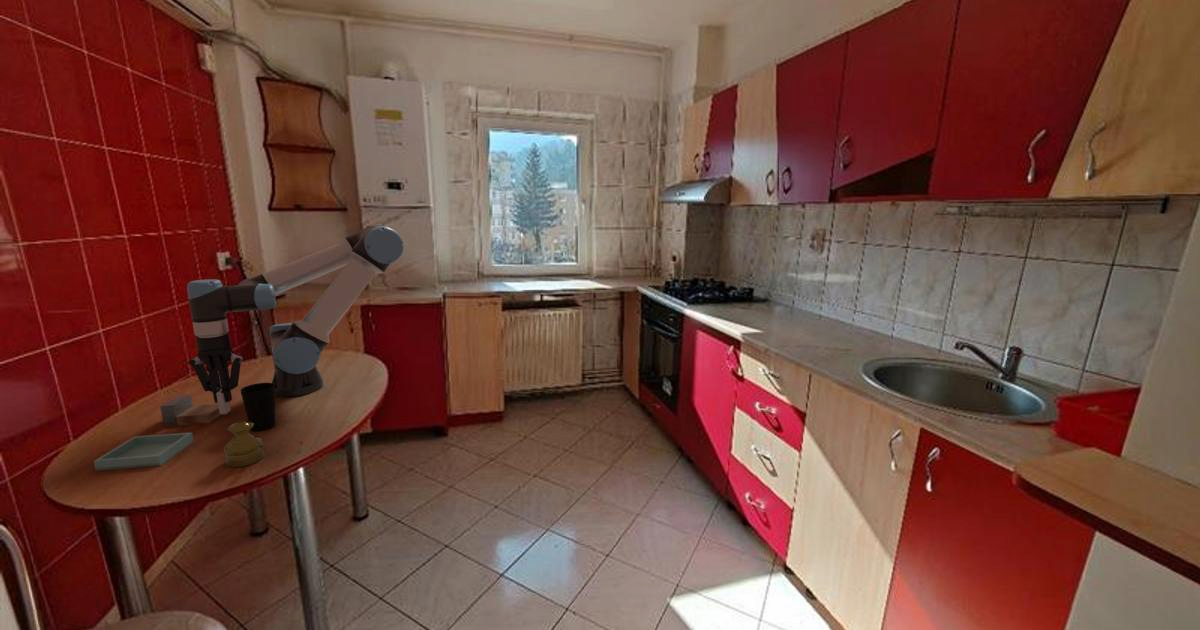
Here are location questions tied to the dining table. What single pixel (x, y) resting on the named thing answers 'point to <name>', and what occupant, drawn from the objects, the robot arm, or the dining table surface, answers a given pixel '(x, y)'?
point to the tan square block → (198, 415)
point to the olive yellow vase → (243, 445)
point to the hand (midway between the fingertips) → (225, 412)
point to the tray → (144, 451)
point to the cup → (260, 405)
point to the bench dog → (175, 409)
